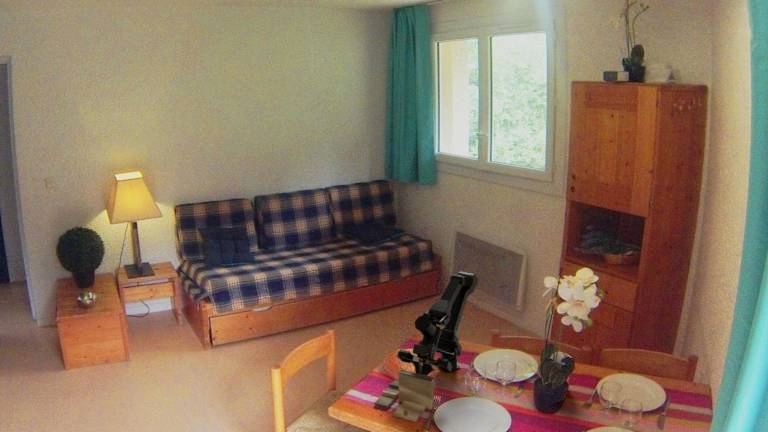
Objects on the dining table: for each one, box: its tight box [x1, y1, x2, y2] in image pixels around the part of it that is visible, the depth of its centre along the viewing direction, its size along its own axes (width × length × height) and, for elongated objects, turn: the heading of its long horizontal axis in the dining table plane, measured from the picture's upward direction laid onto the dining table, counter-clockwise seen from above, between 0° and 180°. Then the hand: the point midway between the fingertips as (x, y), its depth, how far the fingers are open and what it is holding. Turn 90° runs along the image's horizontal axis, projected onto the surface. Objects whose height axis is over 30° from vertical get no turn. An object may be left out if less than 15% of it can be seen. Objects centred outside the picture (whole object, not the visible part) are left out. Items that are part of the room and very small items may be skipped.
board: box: [374, 380, 399, 410], centre depth 213 cm, size 16×5×2 cm, turn 153°
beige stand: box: [393, 369, 435, 422], centre depth 202 cm, size 10×12×11 cm
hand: (417, 384), depth 207 cm, fingers closed, pressing on beige stand
